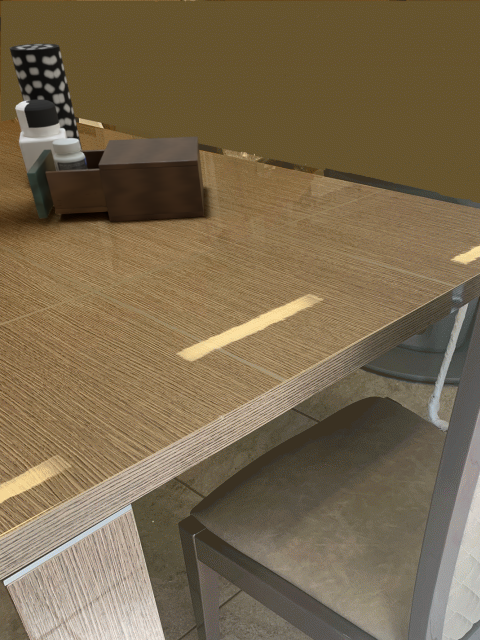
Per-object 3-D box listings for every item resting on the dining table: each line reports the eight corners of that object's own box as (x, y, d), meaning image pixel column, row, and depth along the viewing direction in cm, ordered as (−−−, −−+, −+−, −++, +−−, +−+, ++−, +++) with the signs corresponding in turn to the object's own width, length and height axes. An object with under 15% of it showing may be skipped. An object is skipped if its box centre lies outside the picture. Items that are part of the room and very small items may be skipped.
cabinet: (110, 221, 100) (98, 164, 95) (119, 192, 112) (109, 140, 107) (204, 216, 102) (197, 160, 97) (203, 188, 113) (197, 136, 108)
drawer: (30, 219, 99) (18, 173, 95) (47, 191, 109) (36, 149, 105) (128, 213, 101) (119, 168, 96) (134, 187, 111) (127, 146, 107)
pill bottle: (99, 195, 104) (87, 140, 99) (74, 202, 102) (60, 146, 96) (82, 189, 107) (70, 135, 102) (57, 196, 104) (43, 141, 99)
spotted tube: (45, 159, 129) (16, 44, 117) (88, 157, 129) (63, 43, 117) (36, 171, 122) (3, 50, 110) (80, 169, 123) (53, 49, 111)
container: (74, 171, 122) (57, 95, 114) (76, 182, 116) (57, 104, 108) (31, 175, 120) (11, 98, 112) (30, 187, 114) (8, 107, 106)
